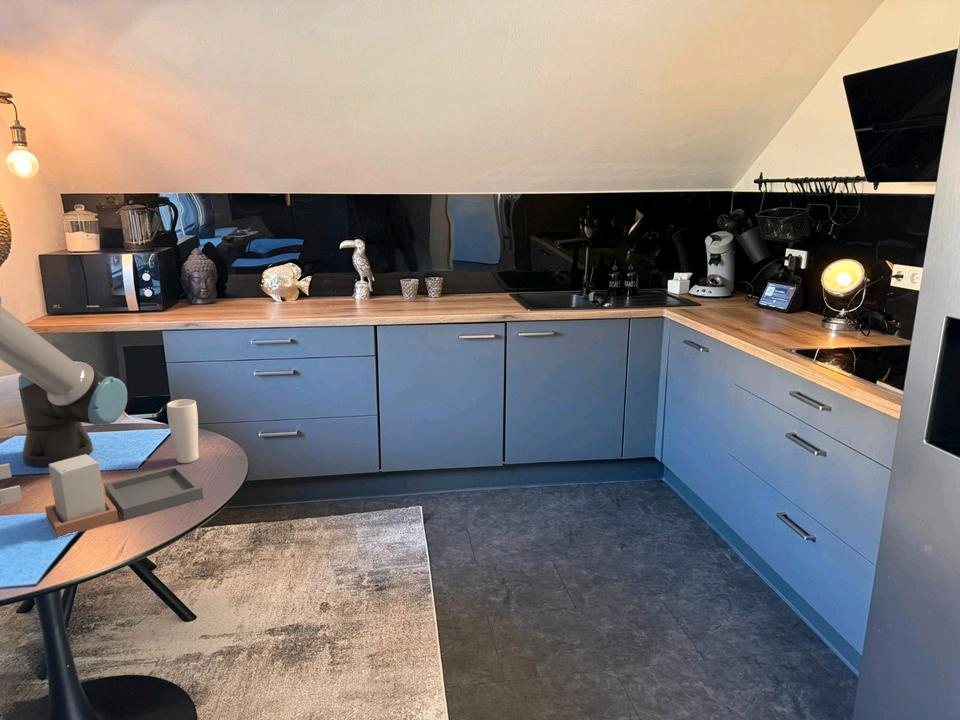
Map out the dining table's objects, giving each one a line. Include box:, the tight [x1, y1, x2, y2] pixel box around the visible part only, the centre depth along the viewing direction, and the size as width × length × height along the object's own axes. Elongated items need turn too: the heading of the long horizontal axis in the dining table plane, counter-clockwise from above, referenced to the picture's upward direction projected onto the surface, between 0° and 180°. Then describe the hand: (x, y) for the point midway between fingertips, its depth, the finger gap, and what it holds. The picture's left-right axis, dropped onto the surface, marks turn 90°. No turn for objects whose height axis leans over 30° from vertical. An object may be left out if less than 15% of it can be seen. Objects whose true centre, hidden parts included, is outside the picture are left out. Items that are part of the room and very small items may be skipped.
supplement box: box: [48, 454, 106, 523], centre depth 139 cm, size 7×7×13 cm
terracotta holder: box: [44, 491, 119, 539], centre depth 141 cm, size 11×11×2 cm
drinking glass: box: [166, 398, 200, 464], centre depth 169 cm, size 7×7×15 cm
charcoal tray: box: [103, 464, 204, 521], centre depth 151 cm, size 16×16×2 cm
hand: (15, 480), depth 131 cm, fingers open, 13 cm apart
